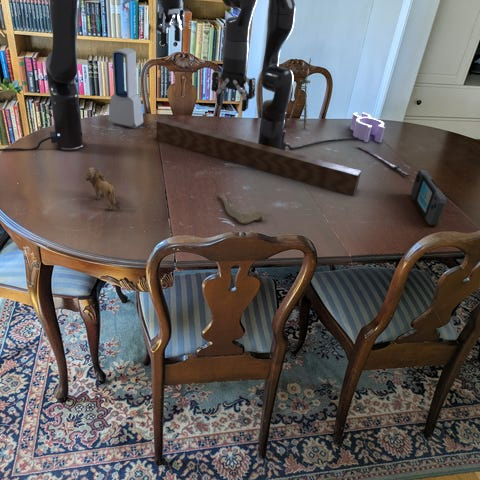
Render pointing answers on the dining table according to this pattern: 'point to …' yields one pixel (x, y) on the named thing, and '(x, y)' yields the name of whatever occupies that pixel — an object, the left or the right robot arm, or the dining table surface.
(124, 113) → the electronic device
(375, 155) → the sword
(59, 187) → the dining table surface
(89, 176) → the lion figurine
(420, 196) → the handheld gaming console
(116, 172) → the dining table surface
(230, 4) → the right robot arm
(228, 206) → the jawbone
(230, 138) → the post
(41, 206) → the dining table surface
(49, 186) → the dining table surface
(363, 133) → the clip
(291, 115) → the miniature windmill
